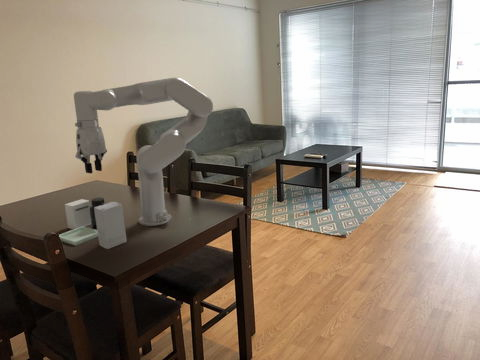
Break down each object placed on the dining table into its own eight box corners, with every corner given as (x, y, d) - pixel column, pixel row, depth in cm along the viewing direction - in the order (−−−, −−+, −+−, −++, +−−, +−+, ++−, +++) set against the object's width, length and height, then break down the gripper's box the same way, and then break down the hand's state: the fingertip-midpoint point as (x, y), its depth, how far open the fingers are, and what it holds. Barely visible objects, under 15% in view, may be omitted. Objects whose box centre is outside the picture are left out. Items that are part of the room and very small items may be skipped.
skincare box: (118, 238, 151) (114, 200, 147) (127, 242, 147) (123, 203, 143) (98, 245, 145) (93, 206, 141) (106, 250, 141) (101, 209, 137)
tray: (102, 235, 155) (101, 231, 155) (75, 245, 146) (75, 242, 145) (83, 229, 161) (82, 226, 161) (56, 239, 152) (56, 236, 151)
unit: (93, 223, 167) (90, 200, 165) (76, 230, 161) (72, 206, 158) (84, 221, 170) (81, 198, 168) (67, 227, 164) (64, 204, 161)
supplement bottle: (88, 230, 161) (84, 201, 158) (98, 223, 167) (94, 196, 164) (103, 231, 159) (100, 202, 156) (113, 224, 165) (109, 196, 162)
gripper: (75, 127, 144) (81, 177, 149) (112, 122, 157) (117, 168, 162) (62, 126, 148) (69, 175, 153) (99, 121, 161) (105, 166, 166)
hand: (94, 171), depth 157 cm, fingers open, 3 cm apart
